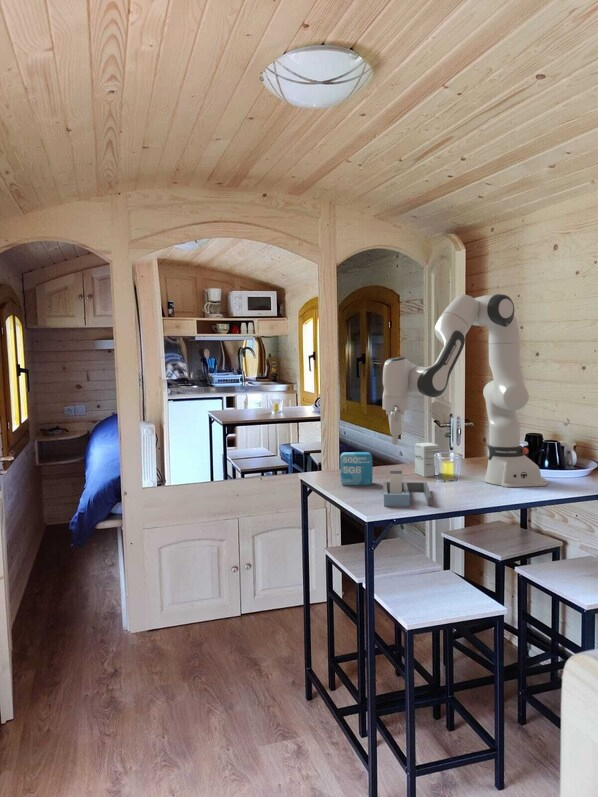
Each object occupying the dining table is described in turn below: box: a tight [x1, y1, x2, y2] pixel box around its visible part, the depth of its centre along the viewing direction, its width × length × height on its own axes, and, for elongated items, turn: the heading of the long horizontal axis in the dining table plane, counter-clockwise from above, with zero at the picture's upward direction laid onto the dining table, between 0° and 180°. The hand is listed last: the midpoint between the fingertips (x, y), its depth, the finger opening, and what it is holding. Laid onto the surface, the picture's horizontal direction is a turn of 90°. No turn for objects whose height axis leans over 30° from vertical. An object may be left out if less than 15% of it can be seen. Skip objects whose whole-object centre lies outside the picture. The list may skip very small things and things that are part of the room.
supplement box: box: [414, 442, 440, 478], centre depth 245 cm, size 7×7×13 cm
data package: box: [339, 451, 373, 486], centre depth 232 cm, size 12×4×12 cm, turn 87°
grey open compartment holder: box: [382, 481, 433, 508], centre depth 211 cm, size 16×22×4 cm
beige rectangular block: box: [389, 467, 403, 494], centre depth 211 cm, size 4×4×10 cm
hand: (395, 444), depth 209 cm, fingers closed
